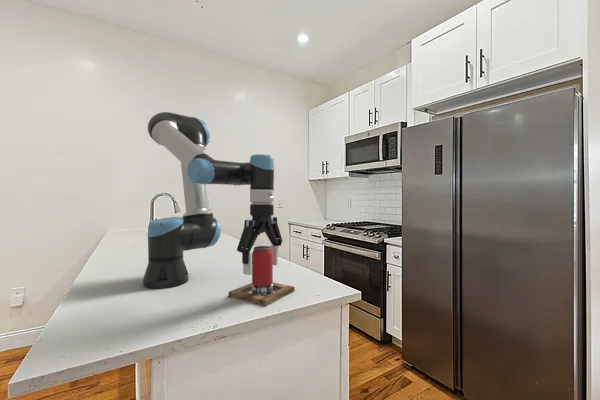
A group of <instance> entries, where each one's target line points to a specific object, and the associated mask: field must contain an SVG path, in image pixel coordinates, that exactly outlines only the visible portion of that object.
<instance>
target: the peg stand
mask: <svg viewBox="0 0 600 400" xmlns="http://www.w3.org/2000/svg"><path fill="white" fill-rule="evenodd" d="M272 293H274V290H273V284H271V285H270V286H267V288H266V287H256V286H254V285H252V291H251V294H256V295H260V296H267V295H270V294H272Z"/></svg>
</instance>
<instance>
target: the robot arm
mask: <svg viewBox="0 0 600 400" xmlns="http://www.w3.org/2000/svg"><path fill="white" fill-rule="evenodd" d="M147 133H148V134H149V138H151V139H152V140H153V142H155V143H156V144H158V145H159V146H163V147H165V148H166V150H168V152H169V153H171V154H172V155H173V156H174V157H175V158H176V159H177V160H178V161H179V162H180V166H181V177H182V185H183V186H182V187H183V195H184V197H183V198H184V206H185V212H184V214H182V216H171V217H164V218H159V219H155V220H152V221H151V222H149V224H148V225H147V226H148V227H147V251H148V253H147V255H148V260H147V261H148V262H147V266H146V269H145V272H144V275H143V277H142V278H143V279H142V285H143V287H145V288H148V289H166V288H167V289H168V288H172V287H176V286H177V287H178V286H181V285H184V284H186V283H188V281H189V279H190V278H189V272H188V269H187V265H186V263H185V261H184V251H185V252H186V251H192V250H197V249H198V250H199V249H206V248H208V247H209V248H210V247H212V246H213V247H214V245H215V244H217V243H218V240H219V239H220V237H221V229H222V228H221V227H222V226H221V223H220V221H219V220H218V219H217V218H216V217H214V214H213V212H212V211H211V210H210V208H209V204H208V203H209V202H208V194H207V193H208V192H207V186H206V185H224V186H225V185H228V186H232V185H233V186H239V187H240V186H249V202H250V203H251V204H250V205H249V215H250V216H251V218H252V219H245V220H244V226H243V230H242V233H241V235H240V239H239V242H238V245H237V248H236V251H237V252H239V253H241V255H242V257H241V260H242V261H241V263H242V274H243V275H248V276H252V252H251V250H252V248H254V247H253V246H254V245H255V243H256V241H257V238H258V236H260V235H261V234H262V233H265V235H266V237H267V238H268V240H269V241H270V243H271V245H269V247H271V250H272V254H273V266H278V262H279V261H278V260H279V246H282V243H283V238H282V234H281V230H280V228H279V225H278V224H279V223H278V218H277V216H276V217H275V216H274V214H275V213H274V204H273V203H274V202H275V201H274V193H275V191H274V190H275V188H274V187H275V186H274V185H275V184H274V183H275V182H274V181H275V179H274V177H275V159H274V157H273V156H272V155H270V154H264V153H263V154H259V153H257V154H252V155H251V156H250V160H249V162H237V161H226V160H217V159H214V158H213V157H211V156H210V155H208V153H206V152H205V150H206V147H207V146H208V144H209V142H210V138H211V132H210V128H209V126H208V125H207V123H206V122H205V121H204V120H203V119H200V118H197V117H194V116H187V115H182V114H178V113H174V112H170V111H163V112H159V113H156V114H154V115H153V116H151V118H150V119H149V121H148V123H147Z"/></svg>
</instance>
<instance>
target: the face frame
mask: <svg viewBox="0 0 600 400" xmlns="http://www.w3.org/2000/svg"><path fill="white" fill-rule="evenodd" d="M272 284H273V293H272V294H267V296H260V294H258V295H256V294H252V285H253V284H252V282H250V283H248V284H246V285H242V286H240V287H237V288H235V289H232V290H230V291H228V298H233V299H236V300H239V301H241V300H242V301H244V302H249V303H254V304H258V305H262V306H265V307H267V306H269V305H271V304H273V303H275V302H277V301H278V300H279V301H280V299H283V298H284V297H286V296H288V295H290V294H292V293H294V292H295V286H293V285H287V284H282V283H277V282H273V283H272ZM266 289H267V287H266Z"/></svg>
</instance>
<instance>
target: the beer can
mask: <svg viewBox="0 0 600 400" xmlns="http://www.w3.org/2000/svg"><path fill="white" fill-rule="evenodd" d="M251 253H252V275H251V283H252V284H253V285H254V286H256V287H267V286H270V285H271V284H272V283H274V282H273V281H274V277H273V276H274V275H273V272H274V270H273V269H274V268H273V266H274V265H273V254H272V250H271V247H270V245H269V246H268V245H258V246H254V247H253V250H252V252H251Z"/></svg>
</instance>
